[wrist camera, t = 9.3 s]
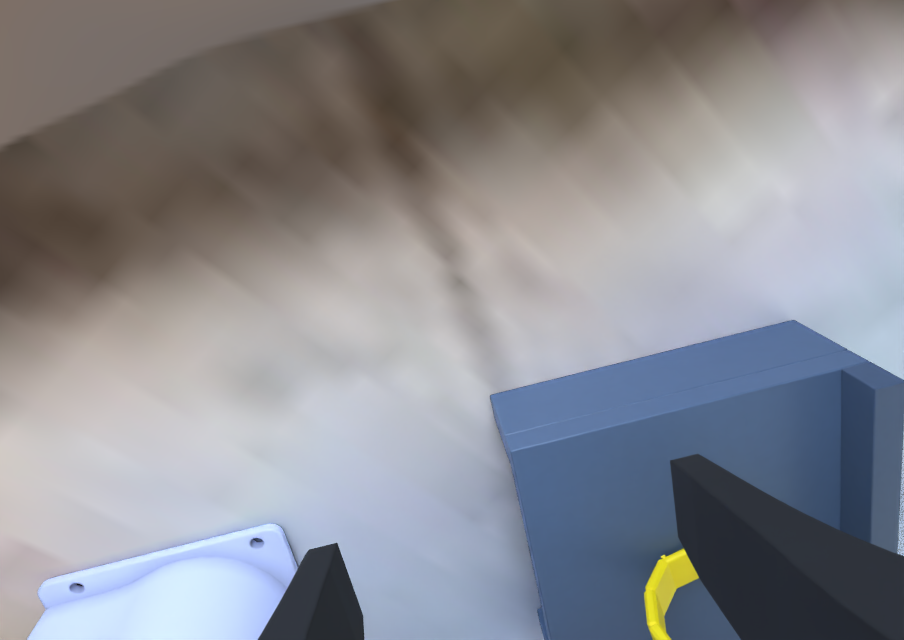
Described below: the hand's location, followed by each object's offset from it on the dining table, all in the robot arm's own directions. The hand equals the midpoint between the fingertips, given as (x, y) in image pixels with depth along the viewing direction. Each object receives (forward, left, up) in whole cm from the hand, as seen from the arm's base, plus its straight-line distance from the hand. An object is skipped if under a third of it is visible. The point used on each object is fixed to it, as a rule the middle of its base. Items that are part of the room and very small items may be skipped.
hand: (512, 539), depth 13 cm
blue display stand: (+7, -8, -10) cm, 15 cm away
